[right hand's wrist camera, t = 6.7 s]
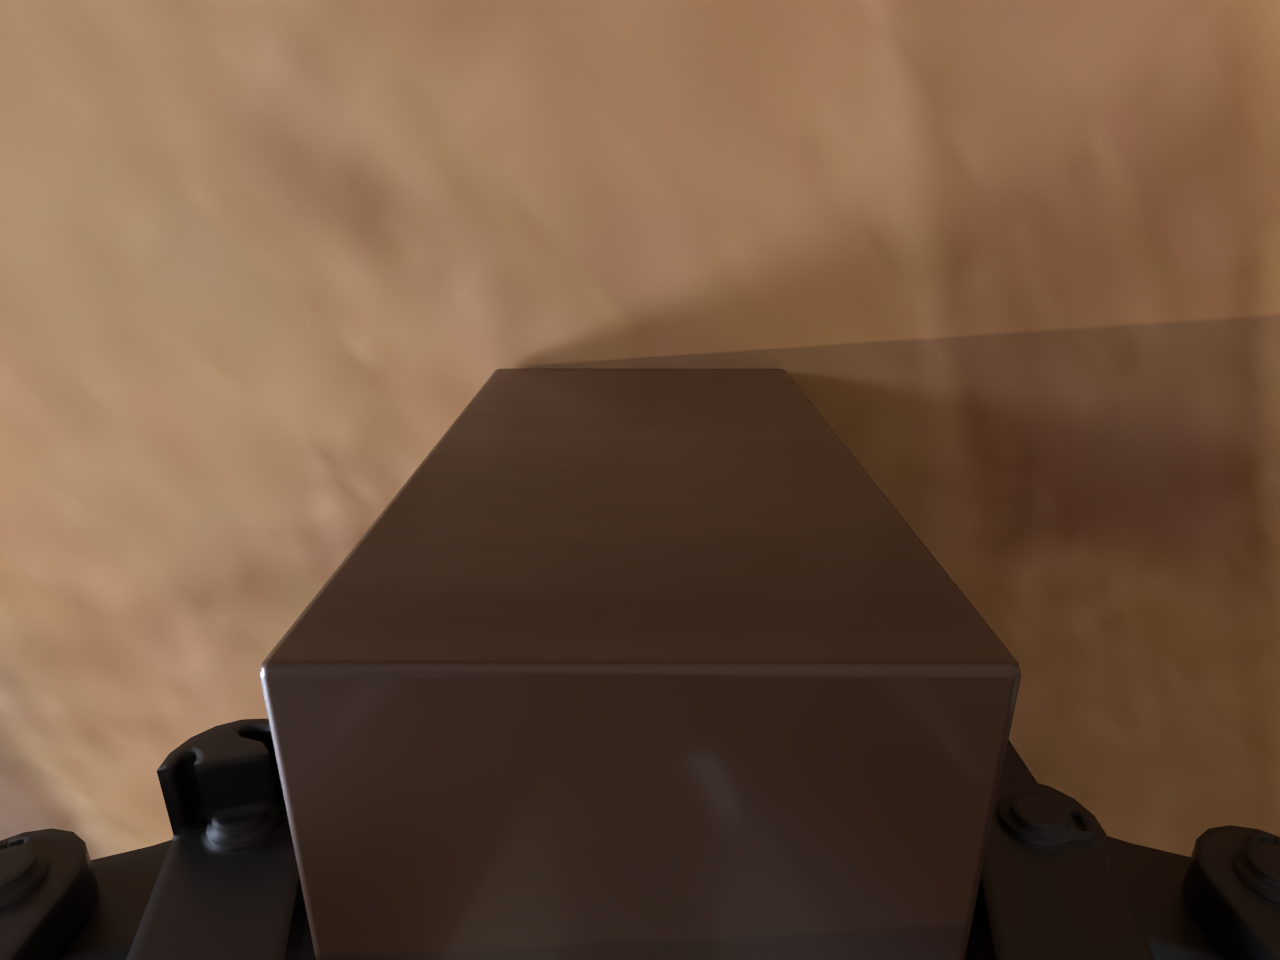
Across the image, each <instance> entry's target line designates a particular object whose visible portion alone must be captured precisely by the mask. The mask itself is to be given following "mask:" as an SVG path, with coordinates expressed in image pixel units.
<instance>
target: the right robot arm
mask: <svg viewBox="0 0 1280 960" xmlns="http://www.w3.org/2000/svg"><path fill="white" fill-rule="evenodd" d="M157 773H158V777H159V781H160V785H161V789H162V792H163V796H164V800H165V804H166V808H167V811H168V815H169V819H170V823H171V827H172V830H173V834H174V836H173V839H172V840H170V841H167V842H164V843H160V844H157V845H154V846H150V847H146V848H142V849H138V850H133V851H129V852H125V853H121V854H116V855H112V856H108V857H104V858H99V859H95V860H90V857H89V854H88V851H87V847H86V844H85V842H84V841H83V840H82V839H80V838H79V837H78V836H77V835H76V834H75V833H74V832H70V831H64V830H57V829H46V830H39V831H32V832H25V833H21V834H19V835H16V836H13V837H10V838H7V839H4V840H1V841H0V960H316V957H315V952H314V947H313V942H312V937H311V932H310V927H309V922H308V917H307V911H306V906H305V901H304V896H303V891H302V886H301V881H300V876H299V871H298V866H297V861H296V856H295V851H294V846H293V840H292V835H291V830H290V825H289V820H288V815H287V810H286V805H285V800H284V795H283V790H282V785H281V780H280V775H279V770H278V764H277V759H276V754H275V749H274V744H273V739H272V734H271V729H270V724H269V719H246V720H239V721H235V722H231V723H227V724H223V725H219V726H216V727H213V728H211V729H209V730H207V731H205V732H202V733H200V734H198V735H196V736H194V737H192V738H190V739H189V740H187V741H186V742H184V743H183V744H182V745H180V746H179V747H178V748H176V749H175V750H174V751H172V752H171V753H170V754H169V755H168V756H167V758H166V759H165V760H164V762H163V763H162V764H161V766H160V767H159V769H158V770H157ZM965 960H1280V837H1278V836H1275V835H1272V834H1270V833H1267V832H1264V831H1261V830H1258V829H1252V828H1245V827H1238V826H1230V825H1229V826H1223V827H1217V828H1210V829H1208V830H1207V831H1206V832H1204V833H1203V834H1202V835H1201V836H1200V837H1199V838H1198V839H1197V840H1196V843H1195V846H1194V849H1193V853H1192V856H1191V857H1187V856H1182V855H1178V854H1174V853H1170V852H1165V851H1161V850H1157V849H1152V848H1148V847H1144V846H1140V845H1135V844H1131V843H1128V842H1124V841H1121V840H1118V839H1115V838H1111V837H1108V836H1107V835H1106V833H1105V832H1104V830H1103V829H1102V827H1101V826H1100V824H1099V822H1098V821H1097V819H1096V818H1095V816H1094V815H1093V814H1091V813H1090V812H1089V811H1088V810H1087V809H1085V808H1084V807H1083V806H1082V805H1081V804H1079V803H1078V802H1077V801H1076V800H1075V799H1073V798H1071V797H1069V796H1067V795H1065V794H1063V793H1061V792H1059V791H1057V790H1055V789H1054V788H1052V787H1049V786H1046V785H1042V784H1038V783H1037V781H1036V780H1035V778H1034V777H1033V775H1032V774H1031V772H1030V771H1029V769H1028V768H1027V766H1026V765H1025V763H1024V762H1023V760H1022V759H1021V758H1020V756H1019V755H1018V753H1017V752H1016V750H1015V749H1014V747H1013V746H1012V744H1011V743H1010V741H1009V740H1008V743H1007V748H1006V753H1005V758H1004V763H1003V768H1002V773H1001V778H1000V783H999V788H998V793H997V798H996V803H995V809H994V814H993V819H992V824H991V829H990V834H989V839H988V844H987V849H986V854H985V859H984V864H983V869H982V874H981V879H980V884H979V889H978V894H977V899H976V904H975V909H974V914H973V919H972V924H971V930H970V935H969V940H968V945H967V950H966V955H965Z"/></svg>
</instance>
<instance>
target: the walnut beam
mask: <svg viewBox="0 0 1280 960" xmlns="http://www.w3.org/2000/svg"><path fill="white" fill-rule="evenodd" d="M1020 677H1021V674H1020V668H1019V665H1018V662H1017V661H1016V660H1015V658H1014V657H1013V656H1012V655H1011V653H1010V652H1009V651H1008V650H1007V648H1006V647H1005V646H1004V645H1003V643H1002V642H1001V641H1000V639H999V638H998V637H997V636H996V634H995V633H994V632H993V631H992V629H991V628H990V627H989V626H988V624H987V623H986V622H985V621H984V619H983V618H982V617H981V616H980V614H979V613H978V612H977V611H976V609H975V608H974V607H973V606H972V604H971V603H970V602H969V601H968V599H967V598H966V597H965V596H964V594H963V593H962V592H961V591H960V589H959V588H958V587H957V585H956V584H955V583H954V582H953V580H952V579H951V578H950V577H949V575H948V574H947V573H946V572H945V570H944V569H943V568H942V567H941V565H940V564H939V563H938V562H937V560H936V559H935V558H934V557H933V555H932V554H931V553H930V552H929V550H928V549H927V548H926V547H925V545H924V544H923V543H922V542H921V540H920V539H919V538H918V537H917V535H916V534H915V533H914V531H913V530H912V529H911V528H910V526H909V525H908V524H907V523H906V521H905V520H904V519H903V518H902V516H901V515H900V514H899V513H898V511H897V510H896V509H895V508H894V506H893V505H892V504H891V503H890V501H889V500H888V499H887V498H886V496H885V495H884V494H883V493H882V491H881V490H880V489H879V488H878V486H877V485H876V484H875V483H874V481H873V480H872V479H871V477H870V476H869V475H868V474H867V472H866V471H865V470H864V469H863V467H862V466H861V465H860V464H859V462H858V461H857V460H856V459H855V457H854V456H853V455H852V454H851V452H850V451H849V450H848V449H847V447H846V446H845V445H844V444H843V442H842V441H841V440H840V439H839V437H838V436H837V435H836V434H835V432H834V431H833V430H832V428H831V427H830V426H829V425H828V423H827V422H826V421H825V420H824V418H823V417H822V416H821V415H820V413H819V412H818V411H817V410H816V408H815V407H814V406H813V405H812V403H811V402H810V401H809V400H808V398H807V397H806V396H805V395H804V393H803V392H802V391H801V390H800V388H799V387H798V386H797V385H796V383H795V382H794V381H793V380H792V378H791V377H790V376H789V374H788V373H787V372H786V371H785V370H783V369H498V370H496V371H495V372H494V373H493V374H492V376H491V377H490V378H489V379H488V381H487V382H486V383H485V384H484V386H483V387H482V388H481V389H480V391H479V392H478V393H477V394H476V396H475V397H474V398H473V399H472V401H471V402H470V403H469V404H468V406H467V407H466V408H465V410H464V411H463V412H462V413H461V415H460V416H459V417H458V418H457V420H456V421H455V422H454V423H453V425H452V426H451V427H450V428H449V430H448V431H447V432H446V433H445V435H444V436H443V437H442V438H441V440H440V441H439V442H438V443H437V445H436V446H435V447H434V448H433V450H432V451H431V452H430V453H429V455H428V456H427V457H426V458H425V460H424V461H423V462H422V463H421V465H420V466H419V467H418V468H417V470H416V471H415V472H414V473H413V475H412V476H411V477H410V478H409V480H408V481H407V482H406V483H405V485H404V486H403V487H402V488H401V490H400V491H399V492H398V493H397V495H396V496H395V497H394V498H393V500H392V501H391V502H390V503H389V505H388V506H387V507H386V508H385V510H384V511H383V512H382V513H381V515H380V516H379V517H378V518H377V520H376V521H375V522H374V523H373V525H372V526H371V527H370V528H369V530H368V531H367V532H366V534H365V535H364V536H363V537H362V539H361V540H360V541H359V542H358V544H357V545H356V546H355V547H354V549H353V550H352V551H351V552H350V554H349V555H348V556H347V557H346V559H345V560H344V561H343V562H342V564H341V565H340V566H339V567H338V569H337V570H336V571H335V572H334V574H333V575H332V576H331V577H330V579H329V580H328V581H327V582H326V584H325V585H324V586H323V587H322V589H321V590H320V591H319V592H318V594H317V595H316V596H315V597H314V599H313V600H312V601H311V602H310V604H309V605H308V606H307V607H306V609H305V610H304V611H303V612H302V614H301V615H300V616H299V617H298V619H297V620H296V621H295V622H294V624H293V625H292V626H291V627H290V629H289V630H288V631H287V632H286V634H285V635H284V636H283V637H282V639H281V640H280V641H279V642H278V644H277V645H276V646H275V647H274V649H273V650H272V651H271V652H270V654H269V655H268V656H267V657H266V659H265V660H264V661H263V663H262V667H261V670H260V678H261V683H262V688H263V693H264V699H265V704H266V709H267V714H268V719H269V724H270V729H271V734H272V739H273V744H274V749H275V754H276V759H277V764H278V770H279V775H280V780H281V785H282V790H283V795H284V800H285V805H286V810H287V815H288V820H289V825H290V830H291V835H292V840H293V846H294V851H295V856H296V861H297V866H298V871H299V876H300V881H301V886H302V891H303V896H304V901H305V906H306V911H307V917H308V922H309V927H310V932H311V937H312V942H313V947H314V952H315V957H316V960H965V955H966V950H967V945H968V940H969V935H970V930H971V924H972V919H973V914H974V909H975V904H976V899H977V894H978V889H979V884H980V879H981V874H982V869H983V864H984V859H985V854H986V849H987V844H988V839H989V834H990V829H991V824H992V819H993V814H994V809H995V803H996V798H997V793H998V788H999V783H1000V778H1001V773H1002V768H1003V763H1004V758H1005V753H1006V748H1007V743H1008V738H1009V733H1010V728H1011V723H1012V718H1013V713H1014V708H1015V703H1016V698H1017V693H1018V688H1019V683H1020Z"/></svg>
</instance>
